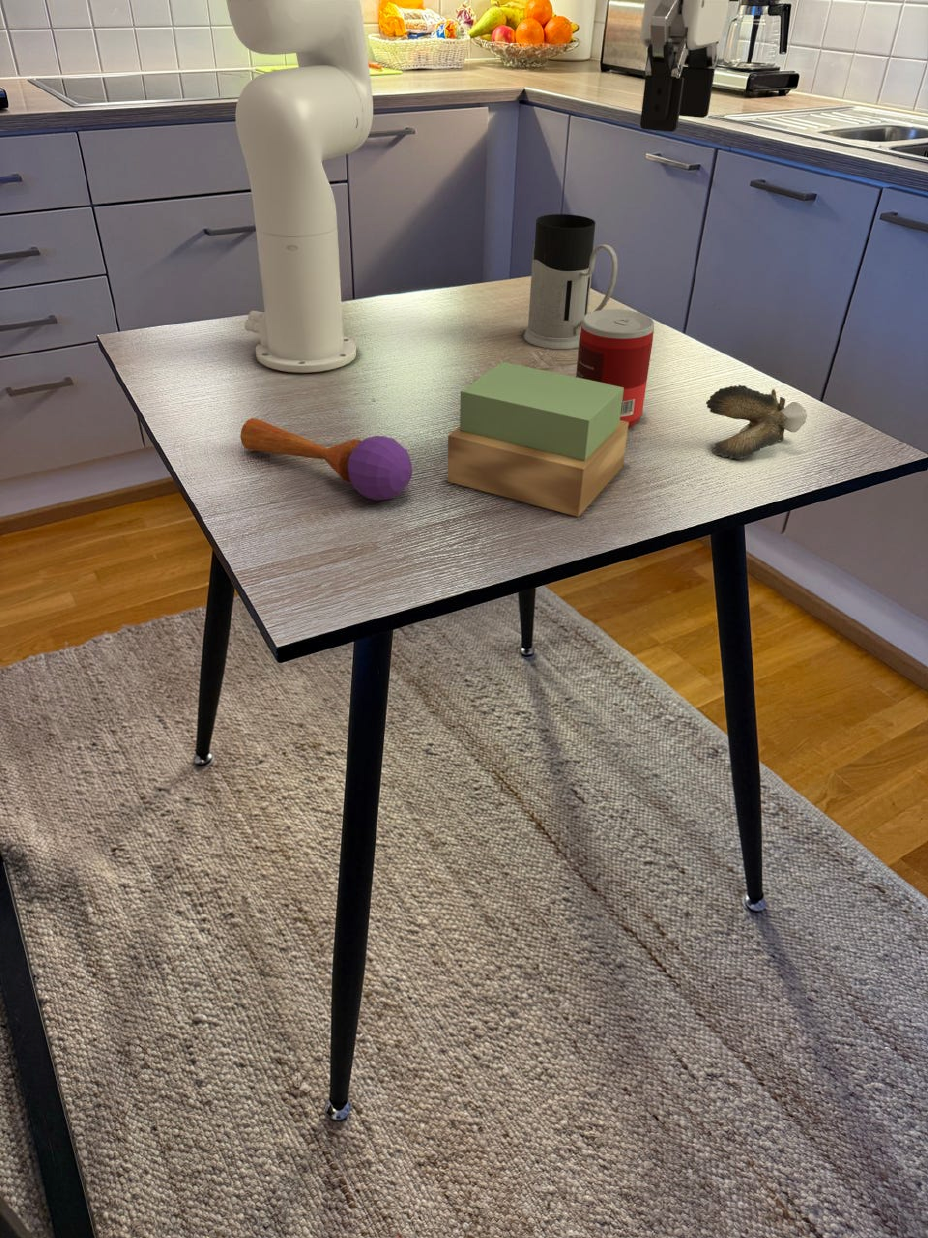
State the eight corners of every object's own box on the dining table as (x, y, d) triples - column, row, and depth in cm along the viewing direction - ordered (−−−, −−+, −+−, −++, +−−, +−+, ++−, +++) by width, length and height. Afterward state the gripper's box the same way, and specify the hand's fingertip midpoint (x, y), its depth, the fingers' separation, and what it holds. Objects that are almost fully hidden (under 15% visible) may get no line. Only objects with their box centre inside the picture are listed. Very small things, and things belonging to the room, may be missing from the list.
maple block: (447, 481, 93) (447, 434, 90) (500, 437, 101) (502, 393, 98) (578, 517, 88) (583, 468, 85) (623, 467, 96) (629, 421, 93)
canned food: (651, 412, 108) (665, 316, 101) (624, 437, 102) (637, 337, 96) (590, 397, 111) (600, 304, 104) (560, 421, 105) (569, 323, 99)
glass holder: (559, 323, 132) (569, 209, 124) (630, 353, 123) (645, 233, 114) (510, 334, 128) (517, 217, 119) (579, 366, 119) (592, 242, 110)
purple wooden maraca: (273, 401, 98) (425, 438, 88) (274, 457, 100) (422, 499, 90) (229, 408, 93) (385, 448, 83) (231, 467, 96) (383, 512, 86)
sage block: (459, 430, 91) (460, 390, 88) (500, 398, 97) (502, 361, 95) (584, 461, 86) (589, 420, 84) (619, 425, 92) (624, 387, 90)
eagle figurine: (749, 411, 106) (690, 410, 101) (794, 371, 100) (733, 368, 95) (776, 468, 103) (717, 470, 99) (823, 431, 97) (762, 431, 93)
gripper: (692, -112, 82) (663, 108, 92) (626, -125, 70) (601, 131, 80) (778, -112, 80) (739, 115, 90) (726, -126, 67) (687, 140, 77)
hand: (674, 122), depth 85 cm, fingers open, 9 cm apart
